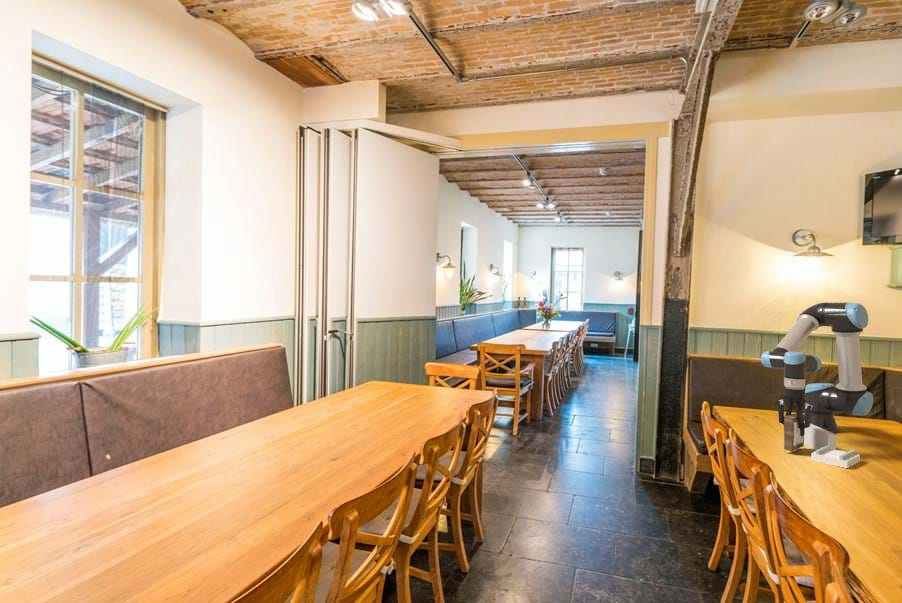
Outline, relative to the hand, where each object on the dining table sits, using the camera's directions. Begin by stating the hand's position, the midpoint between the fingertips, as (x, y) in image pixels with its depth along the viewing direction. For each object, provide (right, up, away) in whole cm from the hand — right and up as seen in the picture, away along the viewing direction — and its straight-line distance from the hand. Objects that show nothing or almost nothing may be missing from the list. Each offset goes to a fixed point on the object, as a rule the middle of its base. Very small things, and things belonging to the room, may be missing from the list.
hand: (794, 441), depth 213 cm
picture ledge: (+8, -4, -12) cm, 16 cm away
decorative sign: (+13, -5, +9) cm, 17 cm away
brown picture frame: (0, -3, 0) cm, 3 cm away
